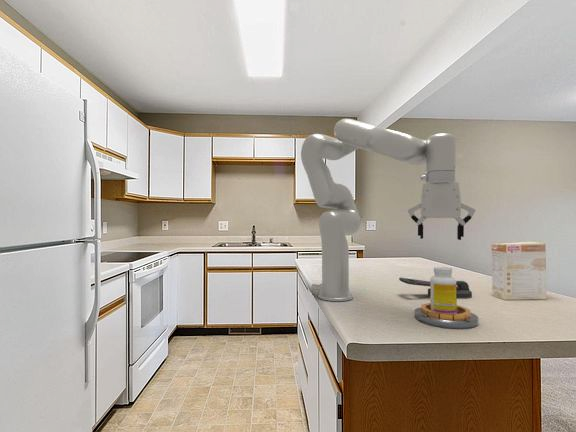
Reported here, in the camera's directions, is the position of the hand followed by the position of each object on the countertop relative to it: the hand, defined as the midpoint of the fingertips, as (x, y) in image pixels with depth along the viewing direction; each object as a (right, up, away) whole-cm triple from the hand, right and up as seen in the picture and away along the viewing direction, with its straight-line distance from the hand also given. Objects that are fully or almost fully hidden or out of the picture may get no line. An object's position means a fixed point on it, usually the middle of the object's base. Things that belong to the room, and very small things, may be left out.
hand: (440, 238), depth 92 cm
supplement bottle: (+1, -21, -1) cm, 21 cm away
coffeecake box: (+39, -23, +23) cm, 50 cm away
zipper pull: (+10, -23, +25) cm, 36 cm away
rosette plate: (+1, -23, -1) cm, 22 cm away
